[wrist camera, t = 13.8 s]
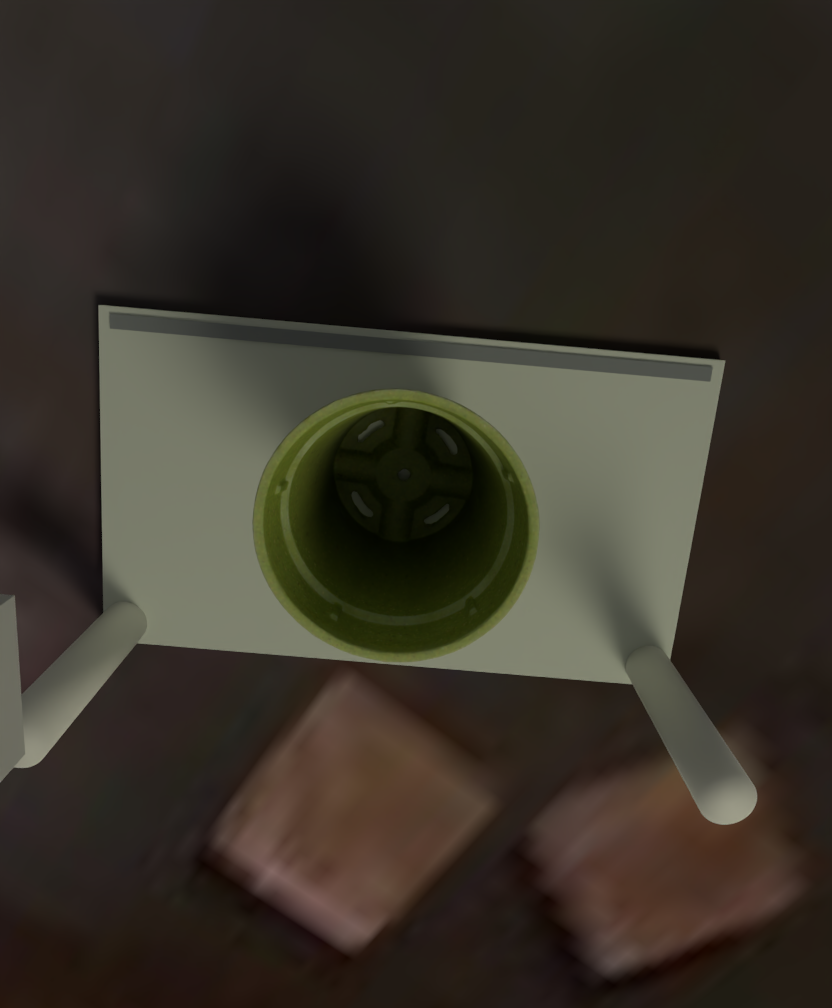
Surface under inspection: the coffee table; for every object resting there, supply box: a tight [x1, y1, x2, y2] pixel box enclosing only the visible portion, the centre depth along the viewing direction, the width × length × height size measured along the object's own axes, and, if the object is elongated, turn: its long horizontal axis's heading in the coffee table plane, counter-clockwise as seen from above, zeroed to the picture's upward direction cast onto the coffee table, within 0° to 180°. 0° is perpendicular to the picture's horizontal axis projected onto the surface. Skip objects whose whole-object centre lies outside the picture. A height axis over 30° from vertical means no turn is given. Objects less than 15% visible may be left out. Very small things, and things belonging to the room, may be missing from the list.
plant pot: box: [252, 389, 540, 662], centre depth 30 cm, size 9×9×9 cm
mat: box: [14, 305, 757, 825], centre depth 30 cm, size 26×15×10 cm, turn 85°
